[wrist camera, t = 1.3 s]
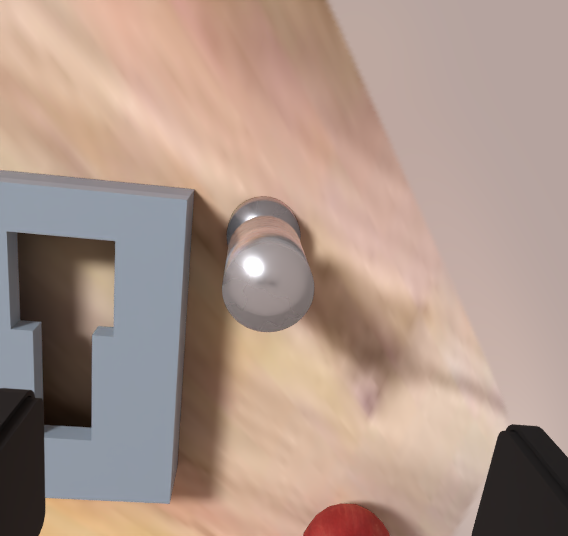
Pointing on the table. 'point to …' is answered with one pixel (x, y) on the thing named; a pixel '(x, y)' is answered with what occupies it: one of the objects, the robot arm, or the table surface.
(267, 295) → the stud
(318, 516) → the onion
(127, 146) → the table surface
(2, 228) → the keyhole plate
